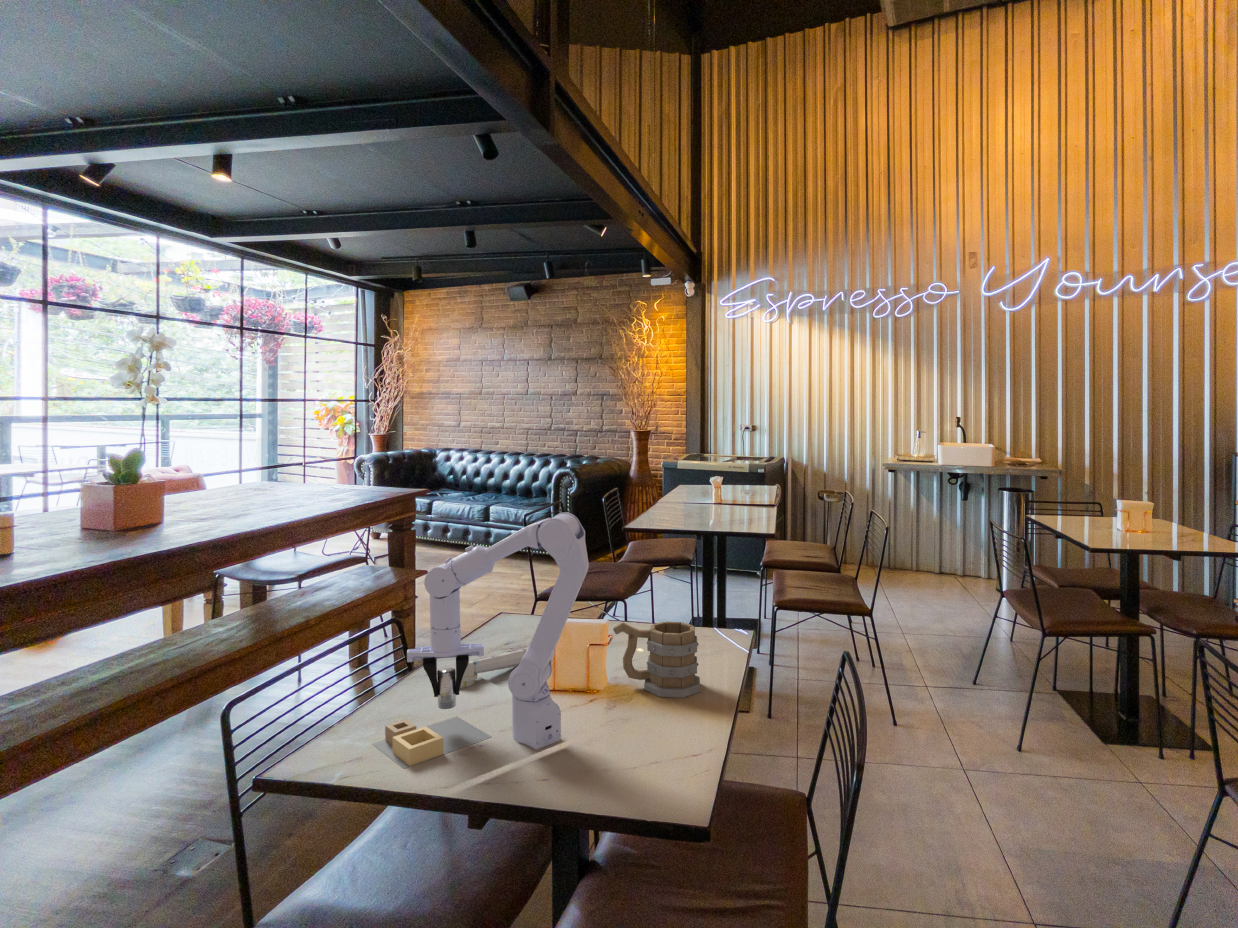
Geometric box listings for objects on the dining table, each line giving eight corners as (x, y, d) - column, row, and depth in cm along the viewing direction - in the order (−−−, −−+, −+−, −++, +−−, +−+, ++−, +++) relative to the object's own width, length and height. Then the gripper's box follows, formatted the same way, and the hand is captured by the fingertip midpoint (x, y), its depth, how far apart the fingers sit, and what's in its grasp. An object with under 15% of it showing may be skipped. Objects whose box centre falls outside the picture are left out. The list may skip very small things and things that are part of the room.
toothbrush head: (540, 648, 177) (462, 661, 158) (538, 675, 177) (459, 691, 157) (526, 644, 181) (448, 656, 161) (523, 670, 180) (445, 685, 161)
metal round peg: (459, 705, 137) (458, 670, 137) (443, 710, 135) (442, 674, 134) (450, 700, 139) (449, 666, 139) (434, 705, 137) (434, 670, 137)
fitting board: (492, 740, 134) (491, 721, 134) (403, 772, 122) (403, 751, 121) (457, 719, 143) (456, 701, 143) (371, 747, 131) (371, 728, 131)
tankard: (699, 678, 167) (699, 616, 166) (700, 698, 154) (700, 632, 153) (616, 675, 169) (616, 614, 168) (610, 695, 156) (610, 629, 155)
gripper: (482, 617, 142) (483, 683, 142) (408, 622, 138) (409, 689, 139) (483, 627, 135) (485, 696, 136) (405, 633, 131) (407, 703, 132)
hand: (446, 694), depth 137 cm, fingers closed on metal round peg, 3 cm apart
